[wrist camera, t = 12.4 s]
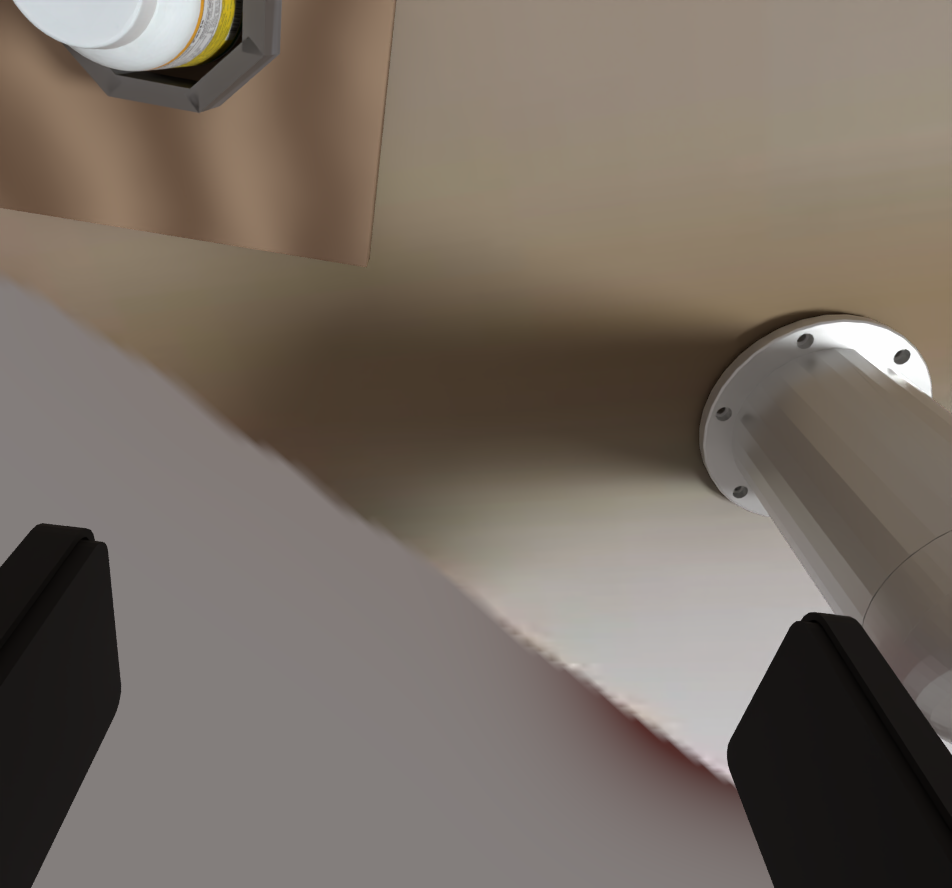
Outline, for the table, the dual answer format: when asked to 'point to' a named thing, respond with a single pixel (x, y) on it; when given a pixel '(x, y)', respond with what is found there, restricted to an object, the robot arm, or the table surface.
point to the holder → (208, 132)
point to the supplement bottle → (140, 30)
